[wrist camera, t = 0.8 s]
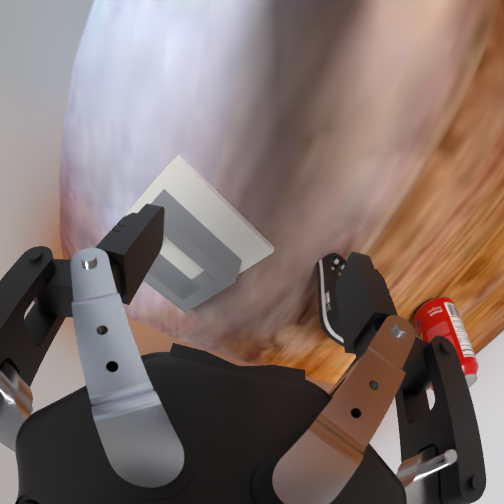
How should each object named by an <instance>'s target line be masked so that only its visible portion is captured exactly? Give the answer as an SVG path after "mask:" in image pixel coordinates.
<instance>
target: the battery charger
mask: <svg viewBox="0 0 504 504" xmlns="http://www.w3.org/2000/svg"><path fill="white" fill-rule="evenodd" d="M345 263H346V260H345V259H343V258H342V257H341V256H340V255H338V254H336V253H332V254H329V255H327V256H325V257H324V258H323V259H320V260H319V262H318V263H317V273H318V297H319V313H320V322H321V326H322V329H323V331H324V332H325V334H326V335H327V336H328V337H329V338H331V339H332V340H334V341H335V342H337V343H338V344H340V345H342V346H343V347H344V341H343V335H342V328H341V322H340V316H339V311H338V305H337V299H336V294H335V288H336V283H337V280H338V278H339V276H340V274H341V272H342V270H343V268H344V266H345Z"/></svg>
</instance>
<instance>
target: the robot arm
mask: <svg viewBox="0 0 504 504" xmlns="http://www.w3.org/2000/svg"><path fill="white" fill-rule="evenodd" d="M164 216H165V209H164V207H162V206H157V205H152V204H145V206H144V207H143V208H142V209H141V210H140V211H139V212H138V213H134V212H133V213H131V214H129V215H127V216H125V217H123V218H122V219H121V220H120V221H119V222H118V223H117V225H115V227H114V228H113V229H112V231H110V232H109V233H108V234H107V235H106V236H105V237H104V239H103V240H102V241H101V242H100V243H99V244H98V245H97V246H96V248H87V249H83V250H81V251H79V252H77V253H76V254H75V255H74V256H73V257H72V259H71V260H62V259H60V260H59V259H54V258H53V255H52V251H51V250H50V249H49V248H48V247H44V246H38V247H34V248H31V249H29V250H28V251H26V252H25V253H24V254H23V255H22V256H21V257H20V258H19V259H18V260H17V262H16V263H15V264H14V265H13V266H12V267H11V269H10V270H9V271H8V272H7V273H6V274H5V275H4V277H3V278H2V279H1V281H0V442H1V443H2V444H4V445H5V446H7V447H8V448H10V449H11V450H13V451H14V452H16V458H17V465H18V474H19V475H18V476H19V492H18V497H17V501H16V503H15V504H470V503H473V502H475V501H477V500H478V499H479V498H480V497H481V496H482V494H483V492H484V490H485V486H486V474H485V465H484V458H483V451H482V445H481V440H480V434H479V429H478V424H477V420H476V416H475V411H474V407H473V403H472V400H471V396H470V392H469V388H468V385H467V381H466V378H465V375H464V372H463V369H462V366H461V362H460V360H459V357H458V354H457V351H456V348H455V347H454V345H453V344H452V343H451V341H450V340H448V339H447V338H445V337H443V336H440V335H438V336H435V337H434V338H433V339H432V340H431V341H430V342H429V343H428V342H426V341H423V340H421V339H419V338H417V337H416V335H415V331H414V329H413V327H412V326H411V324H410V323H409V322H408V321H407V320H405V319H404V318H402V317H400V316H398V314H397V312H396V309H395V306H394V303H393V301H392V298H391V295H389V294H390V293H389V290H388V288H387V285H386V283H385V280H384V278H383V276H382V275H381V274H380V273H379V272H378V270H377V269H374V266H373V264H372V261H371V259H370V257H369V256H368V255H364V254H360V253H356V252H352V253H351V254H350V255H349V257H348V259H347V261H346V263H345V266H344V268H343V270H342V272H341V274H340V276H339V278H338V280H337V283H336V288H335V294H336V299H337V305H338V311H339V316H340V322H341V328H342V335H343V341H344V348H345V353H353V354H356V358H355V360H354V361H353V362H352V363H351V365H350V366H349V367H348V369H347V370H346V371H345V373H344V374H343V375H342V377H341V378H340V379H339V381H338V382H337V383H336V384H335V386H334V387H333V388H332V389H331V391H330V392H329V393H327V392H326V391H324V390H323V389H322V388H320V387H319V386H317V385H316V384H314V383H312V382H310V381H307V380H305V370H302V369H295V368H289V367H282V366H276V365H266V366H237V365H234V364H232V363H230V362H228V361H225V360H223V359H221V358H219V357H216V356H215V355H212V354H210V353H208V352H206V351H202V350H198V349H194V348H190V347H187V346H182V345H179V344H175V343H173V345H172V348H171V351H170V352H156V353H150V354H147V355H142V356H140V354H139V352H138V349H137V346H136V343H135V341H134V338H133V335H132V332H131V329H130V326H129V323H128V320H127V317H126V314H125V310H124V307H123V304H122V303H124V304H127V305H129V304H130V303H131V301H132V299H133V297H134V295H135V294H136V292H137V290H138V288H139V287H140V285H141V283H142V281H143V280H144V278H145V276H146V275H147V273H148V271H149V269H150V268H151V266H152V264H153V263H154V261H155V259H156V258H157V256H158V254H159V253H160V251H161V248H162V244H163V236H164ZM33 300H34V303H35V304H34V305H33V307H32V308H31V310H30V311H29V313H28V314H27V316H26V317H25V319H24V315H25V312H26V310H27V309H28V307H29V306H30V304H31V303H32V301H33ZM66 317H73V320H74V326H75V333H76V339H77V345H78V350H79V355H80V360H81V365H82V369H83V374H84V378H85V382H86V386H84V387H82V388H80V389H79V390H77V391H75V392H73V393H71V394H69V395H67V396H65V397H63V398H61V399H60V400H58V401H56V402H54V403H52V404H50V405H48V406H46V407H44V408H42V409H40V410H38V411H36V412H35V413H33V414H32V415H31V413H32V411H33V408H32V402H33V396H32V392H31V389H30V386H31V383H32V381H33V379H34V377H35V375H36V373H37V371H38V368H39V366H40V364H41V362H42V360H43V358H44V356H45V354H46V352H47V350H48V348H49V347H50V345H51V343H52V341H53V339H54V337H55V335H56V334H57V332H58V330H59V328H60V326H61V325H62V323H63V321H64V319H65V318H66ZM431 384H432V386H433V390H434V394H435V404H434V406H433V408H432V409H431V410H430V409H429V404H428V398H427V394H426V389H427V388H428V387H429V386H430V385H431ZM394 397H395V400H396V407H397V415H398V423H399V434H400V446H401V461H402V463H401V465H400V467H399V469H398V472H397V474H396V475H395V474H394V473H393V472H392V470H391V469H390V468H389V467H388V466H387V465H386V463H385V462H384V461H383V460H382V458H381V457H380V456H379V455H378V454H377V452H376V451H375V450H374V449H373V447H372V446H371V445H370V444H369V442H370V440H371V439H372V437H373V435H374V434H375V432H376V430H377V428H378V427H379V425H380V423H381V422H382V420H383V418H384V416H385V414H386V413H387V411H388V409H389V406H390V405H391V403H392V401H393V399H394Z"/></svg>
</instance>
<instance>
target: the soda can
mask: <svg viewBox="0 0 504 504" xmlns="http://www.w3.org/2000/svg"><path fill="white" fill-rule="evenodd" d="M413 321H414V326H415V330H416V333H417V336H418V338H419V339H421V340H423V341H426V342H428V343H429V342H430V341H431V340H432V339H433V338H434V337H435V336H438V335H440V336H443V337H445V338H447V339H448V340H450V341H451V343H452V344H453V345H454V347H455V348H456V351H457V354H458V357H459V360H460V362H461V366H462V369H463V372H464V375H465V378H466V381H467V385H468V388H469V387H470V386H472V385H473V384H474V383H475V382H476V380H477V376H476V373H477V370H478V363H477V360H476V357H475V354H474V351H473V348H472V346H471V343H470V340H469V338H468V335H467V332H466V330H465V327H464V325H463V322H462V320H461V318H460V315H459V313H458V311H457V308H456V306H455V304H454V302H453V301H452V300H451V299H450V298H447V297H438V298H434V299H432V300H430V301H428V302H426V303H425V304H423V305H422V306H421V307H420V308H419V309H418V310H417V312H416V313H415V316H414V319H413ZM430 387H431V389H432V390H433V386H432V384H431V385H430ZM433 391H434V390H433Z"/></svg>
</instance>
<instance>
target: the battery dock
mask: <svg viewBox="0 0 504 504" xmlns="http://www.w3.org/2000/svg"><path fill="white" fill-rule="evenodd" d="M145 204H152V205H157V206H162V207H164V209H165V216H164V236H163V244H162V248H161V251H160V253H159V254H158V256H157V258H156V259H155V261H154V263H153V264H152V266H151V268H150V269H149V271H148V273H147V275H146V276H145V278H144V281H145V282H146V283H147V284H149V285H150V286H151V287H153V288H154V289H155V290H156V291H158V292H159V293H160V294H161V295H163V296H164V297H165V298H167V299H168V300H169V301H171V302H172V303H173V304H174V305H176V306H177V307H178V308H180V309H181V310H182V311H184V312H185V313H186V312H188V311H189V310H191V309H193V308H194V307H196V306H198V305H199V304H201V303H203V302H204V301H206V300H208V299H209V298H211V297H213V296H214V295H216V294H218V293H219V292H221V291H222V290H224V289H226V288H227V287H229V286H231V285H232V284H234V283H235V282H237V278H238V275H239V274H240V273H242V272H243V271H245V270H247V269H248V268H250V267H251V266H253V265H254V264H256V263H258V262H259V261H261V260H262V259H264V258H265V257H267V256H269V255H270V254H272V253H273V252H274V246H273V245H272V244H271V243H270V242H269V241H268V240H267V239H266V238H265V237H264V236H263V235H262V234H261V233H260V232H259V231H258V230H257V229H256V228H255V227H253V226H252V225H251V224H250V223H249V222H248V221H247V220H246V219H245V218H244V217H243V216H242V215H241V214H240V213H239V212H238V211H237V210H236V209H235V208H234V207H233V206H232V205H231V204H230V203H229V202H228V201H227V200H226V199H225V198H224V197H223V196H222V195H221V194H220V193H219V192H218V191H217V190H216V189H215V188H214V187H213V186H211V185H210V184H209V183H208V182H207V181H206V180H205V179H204V178H203V177H202V176H201V175H200V174H199V173H198V172H197V171H196V170H195V169H194V168H193V167H192V166H191V165H190V164H189V163H188V162H186V161H185V160H184V159H183V158H182V157H181V156H180V155H178V156H176V157H175V158H174V160H173V161H172V162H171V163H170V164H169V165H168V166H167V167H166V168H165V169H164V170H163V172H162V173H161V174H160V175H159V176H158V177H157V178H156V179H155V181H154V182H153V183H152V184H151V185H150V186H149V188H148V189H147V190H146V191H145V192H144V193H143V195H142V196H141V197H140V198H139V199H138V201H137V202H136V203H135V204H134V205H133V207H132V208H131V209H130V210H129V212H128V213H127V214H126V215H125V216H127V215H129V214H131V213H133V212H134V213H138V212H139V211H140V210H141V209H142V208H143V207H144V206H145Z"/></svg>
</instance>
